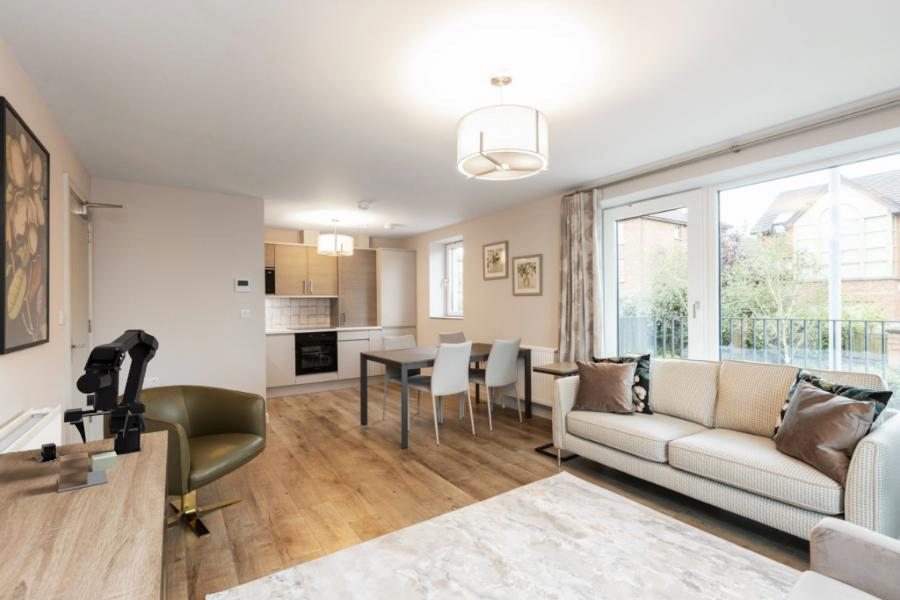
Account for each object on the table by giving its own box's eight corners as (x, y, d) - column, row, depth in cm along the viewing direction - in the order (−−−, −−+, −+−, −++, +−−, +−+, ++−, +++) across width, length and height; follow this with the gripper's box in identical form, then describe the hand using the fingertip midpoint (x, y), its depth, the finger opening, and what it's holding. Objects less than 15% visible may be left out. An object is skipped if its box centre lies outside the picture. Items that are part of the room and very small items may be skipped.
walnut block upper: (86, 465, 117) (87, 451, 118) (87, 470, 113) (88, 456, 113) (59, 469, 114) (60, 456, 114) (59, 475, 110) (60, 461, 110)
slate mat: (104, 470, 124) (104, 469, 124) (108, 482, 115) (108, 481, 115) (58, 479, 117) (58, 478, 117) (57, 492, 108) (57, 491, 108)
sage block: (114, 463, 131) (114, 451, 131) (116, 467, 127) (117, 455, 127) (90, 467, 127) (91, 455, 127) (92, 472, 123) (93, 459, 123)
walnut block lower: (86, 478, 117) (86, 465, 117) (87, 484, 113) (87, 470, 113) (59, 483, 114) (59, 469, 114) (59, 489, 109) (59, 475, 110)
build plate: (67, 461, 134) (67, 446, 134) (34, 467, 128) (35, 452, 128) (59, 452, 142) (59, 438, 142) (28, 458, 136) (29, 443, 136)
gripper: (141, 381, 140) (139, 429, 140) (64, 387, 128) (62, 440, 127) (146, 385, 132) (144, 436, 131) (64, 393, 119) (62, 449, 119)
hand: (105, 440), depth 127 cm, fingers open, 9 cm apart
